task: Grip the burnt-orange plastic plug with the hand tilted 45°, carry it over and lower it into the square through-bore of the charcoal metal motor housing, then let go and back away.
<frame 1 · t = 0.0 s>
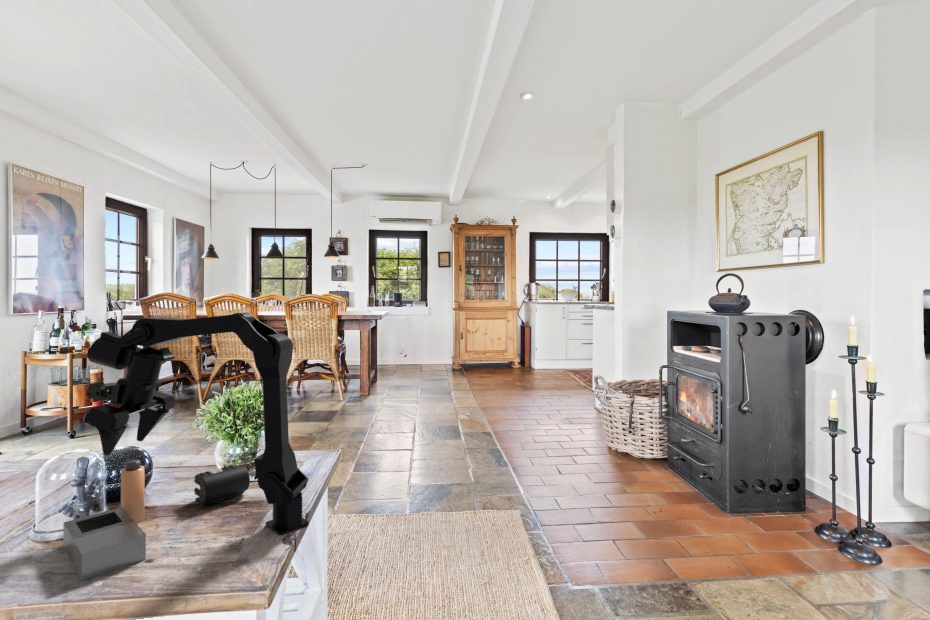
hand: (123, 447, 97), 15 cm above the table, tool pointing down, fingers open, 9 cm apart
plug: (132, 520, 98), on the table
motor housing: (99, 545, 88), on the table
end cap: (221, 499, 109), on the table
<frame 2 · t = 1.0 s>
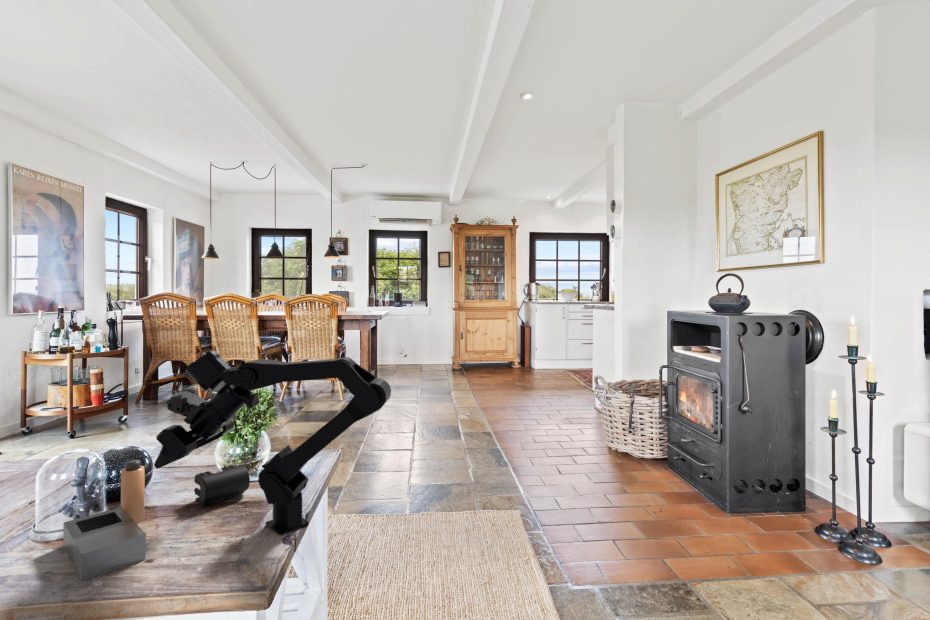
hand: (170, 458, 97), 13 cm above the table, tool tilted 45°, fingers open, 9 cm apart
nothing on the table moved.
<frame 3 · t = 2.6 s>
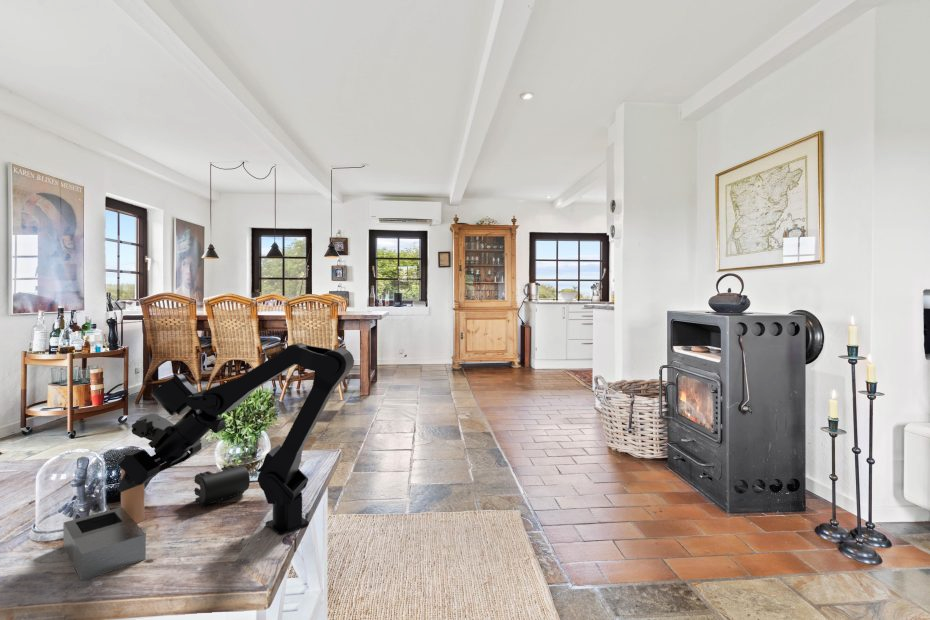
hand: (135, 481, 98), 8 cm above the table, tool tilted 45°, fingers open, 9 cm apart
nothing on the table moved.
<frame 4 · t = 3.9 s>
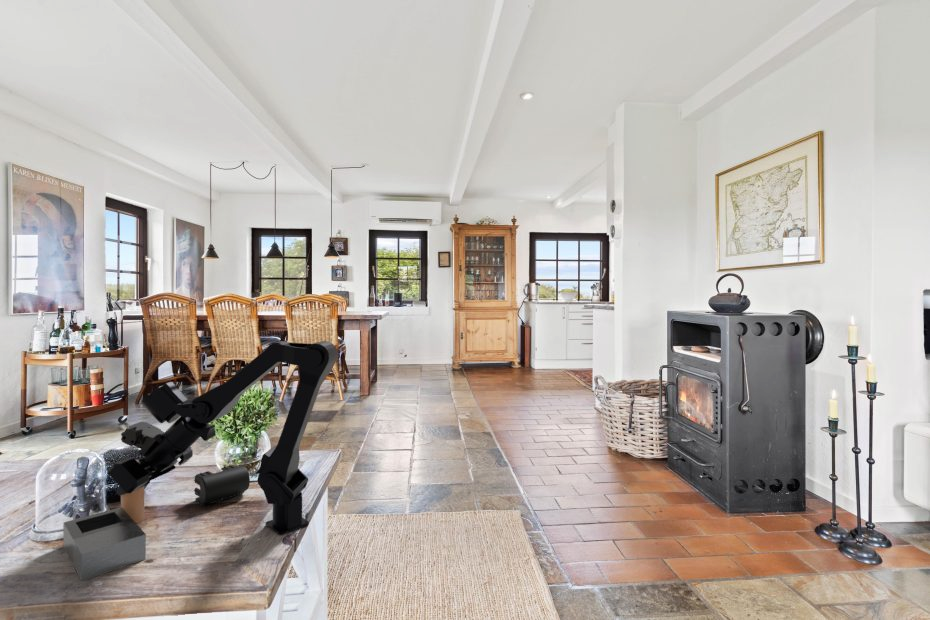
hand: (126, 489, 98), 7 cm above the table, tool tilted 45°, fingers closed on plug, 4 cm apart
plug: (132, 520, 98), on the table, touching gripper
everything else where it was.
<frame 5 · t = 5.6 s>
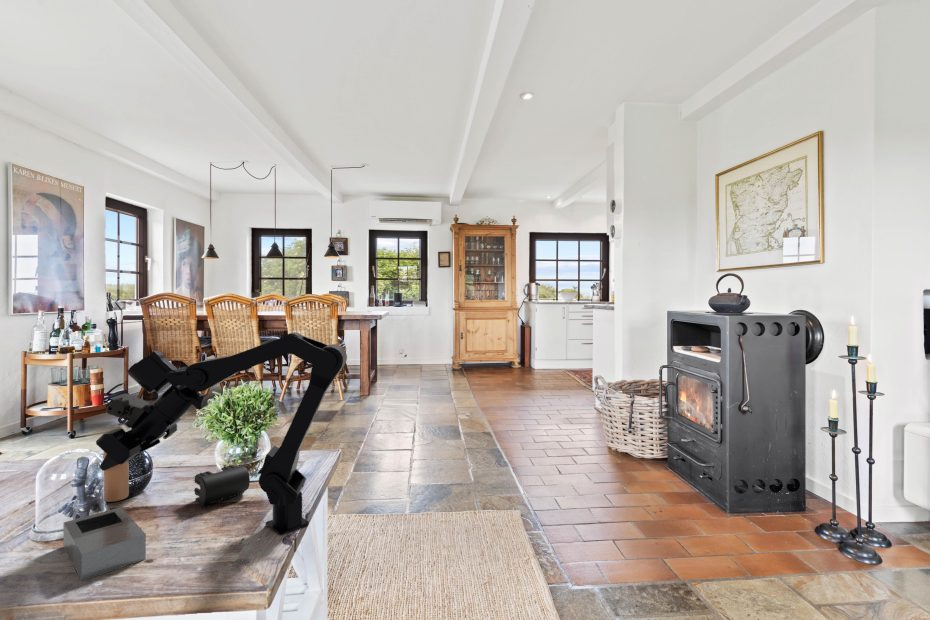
hand: (108, 464, 93), 13 cm above the table, tool tilted 45°, fingers closed on plug, 4 cm apart
plug: (116, 497, 93), point 7 cm above the table, touching gripper
everything else where it was.
when the fingers open (8 cm above the table, at t = 7.6 s): plug drops 1 cm, resting in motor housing.
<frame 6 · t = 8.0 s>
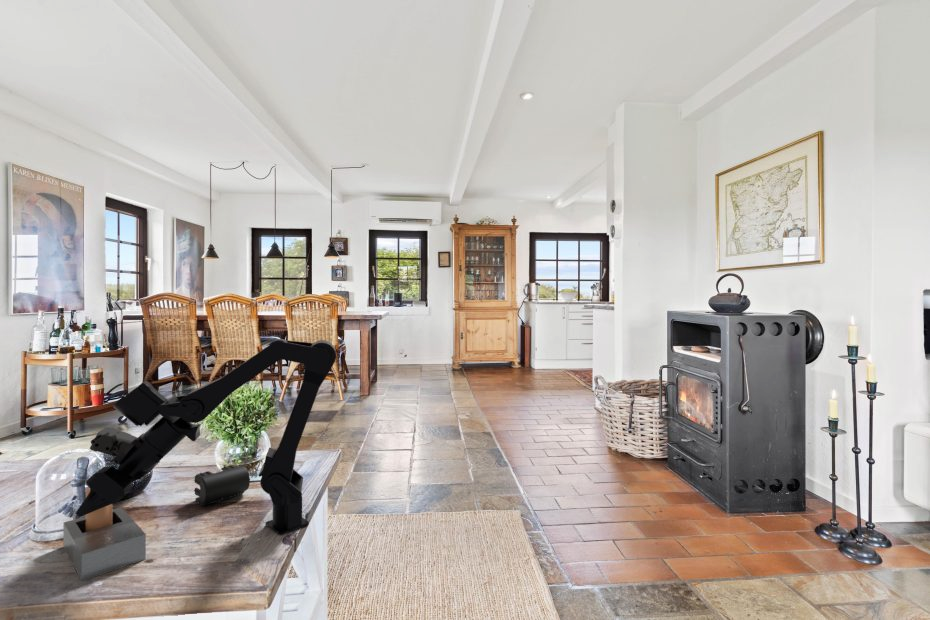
hand: (90, 504, 87), 8 cm above the table, tool tilted 45°, fingers open, 9 cm apart
plug: (99, 545, 88), resting in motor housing
everything else where it was.
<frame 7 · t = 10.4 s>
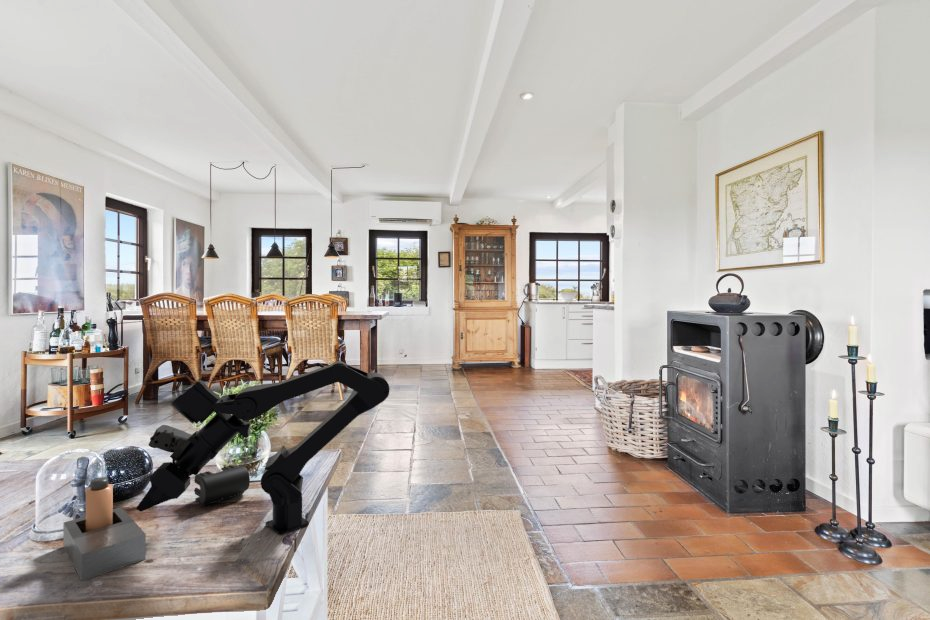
hand: (148, 499, 90), 8 cm above the table, tool tilted 45°, fingers open, 9 cm apart
nothing on the table moved.
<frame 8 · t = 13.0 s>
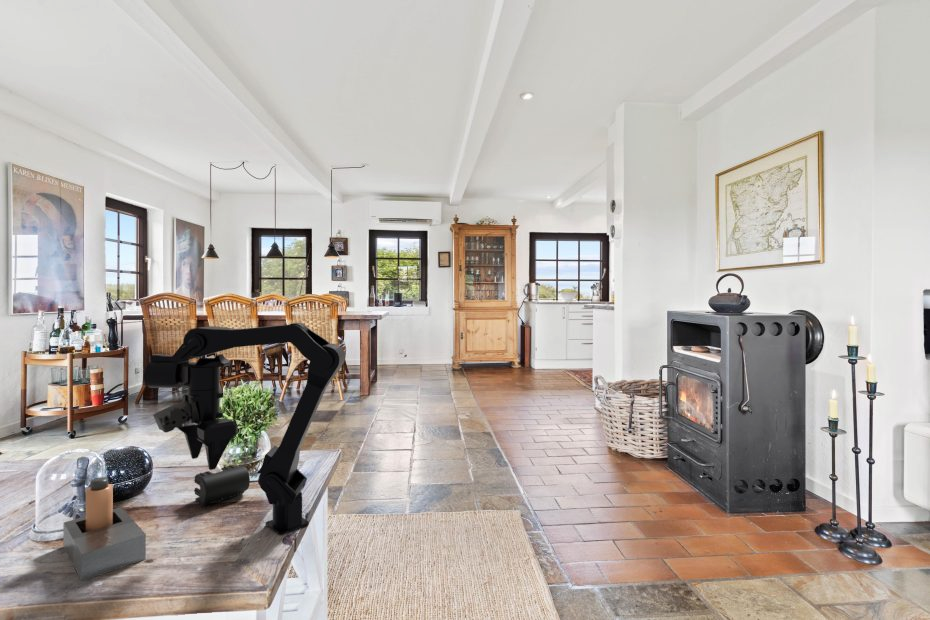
hand: (203, 463, 96), 13 cm above the table, tool pointing down, fingers open, 9 cm apart
nothing on the table moved.
at the end: plug 0.0 cm off-centre on the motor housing, point 0.0 cm above the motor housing's base; plug tilted 0°; the gripper is holding nothing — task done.
